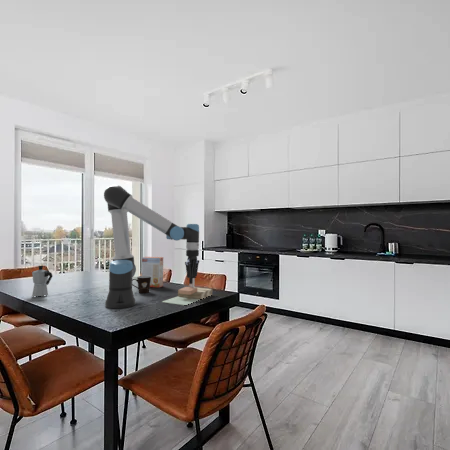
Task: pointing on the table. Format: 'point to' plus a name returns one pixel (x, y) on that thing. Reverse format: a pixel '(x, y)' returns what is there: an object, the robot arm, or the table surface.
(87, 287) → the table surface
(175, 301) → the mat
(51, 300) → the table surface
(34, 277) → the coffee maker
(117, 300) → the robot arm
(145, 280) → the coffee mug
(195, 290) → the coaster
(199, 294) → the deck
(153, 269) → the cracker box
